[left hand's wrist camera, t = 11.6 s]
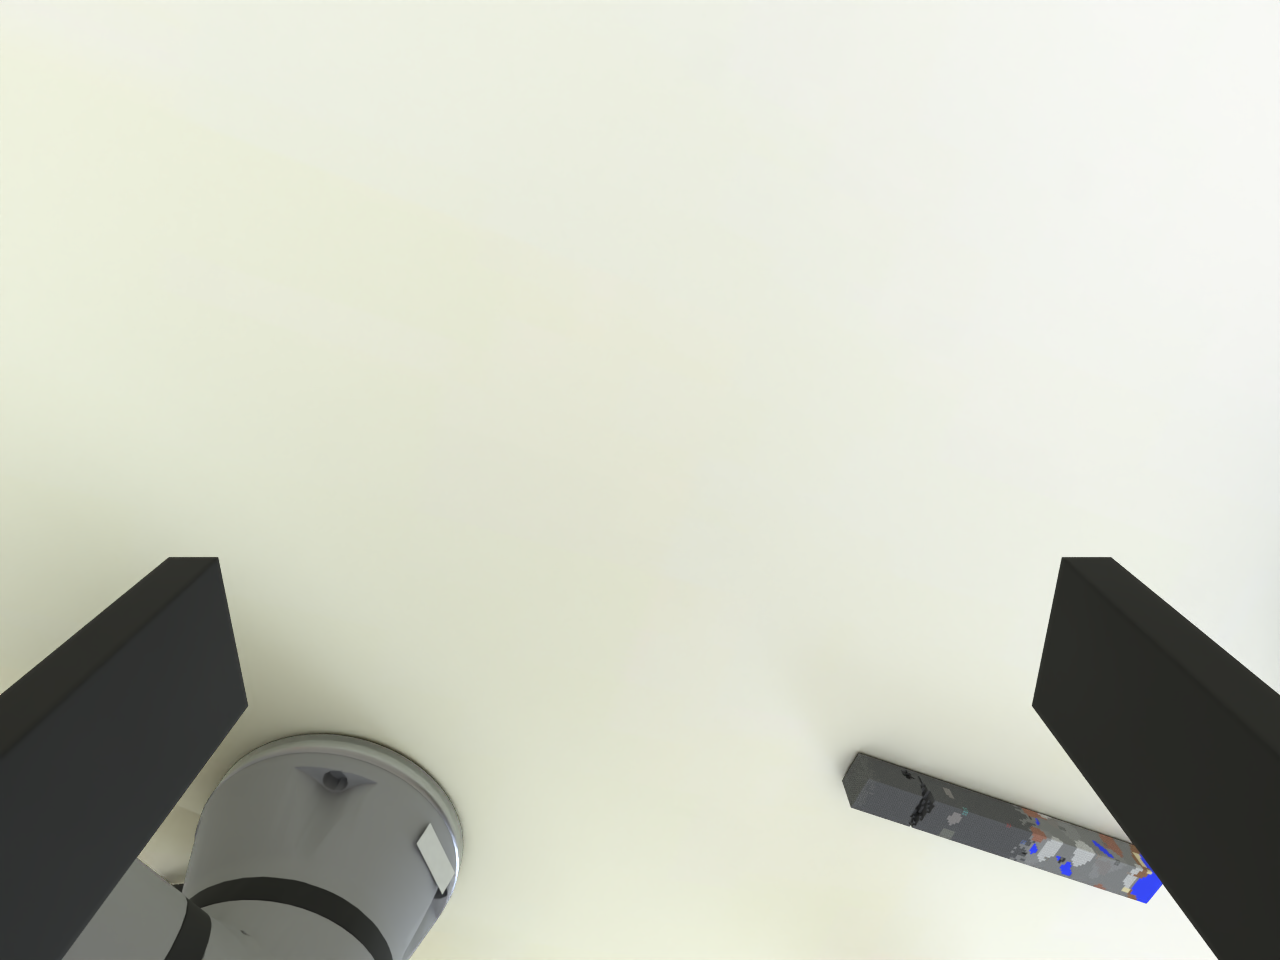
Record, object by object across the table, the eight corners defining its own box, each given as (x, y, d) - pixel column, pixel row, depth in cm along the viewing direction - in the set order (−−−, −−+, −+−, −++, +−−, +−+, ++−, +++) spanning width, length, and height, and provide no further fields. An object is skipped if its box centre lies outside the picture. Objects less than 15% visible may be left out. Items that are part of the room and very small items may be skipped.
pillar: (868, 778, 46) (1172, 879, 48) (858, 752, 48) (1151, 850, 50) (850, 807, 46) (1151, 905, 49) (842, 780, 48) (1130, 875, 51)
